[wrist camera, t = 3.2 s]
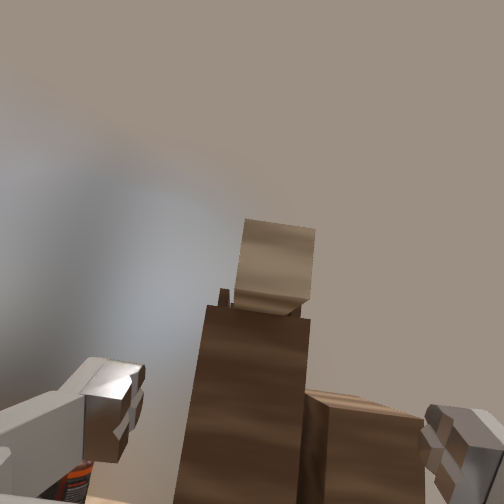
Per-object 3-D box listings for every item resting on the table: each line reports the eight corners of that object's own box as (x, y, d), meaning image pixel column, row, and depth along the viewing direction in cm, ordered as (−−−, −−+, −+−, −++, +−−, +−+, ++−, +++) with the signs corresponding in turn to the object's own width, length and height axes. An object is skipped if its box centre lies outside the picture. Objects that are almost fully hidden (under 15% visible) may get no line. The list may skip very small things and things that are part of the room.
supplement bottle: (84, 537, 39) (109, 431, 43) (56, 568, 34) (87, 443, 37) (35, 530, 40) (63, 424, 43) (-1, 559, 34) (35, 435, 37)
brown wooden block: (271, 804, 18) (313, 288, 26) (124, 787, 18) (212, 274, 26) (253, 604, 32) (284, 311, 41) (171, 594, 32) (218, 301, 41)
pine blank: (309, 299, 18) (315, 228, 19) (234, 288, 18) (245, 218, 19) (266, 328, 39) (270, 294, 40) (232, 323, 39) (237, 289, 40)
